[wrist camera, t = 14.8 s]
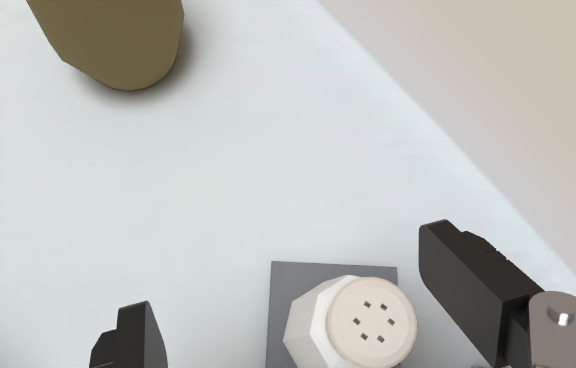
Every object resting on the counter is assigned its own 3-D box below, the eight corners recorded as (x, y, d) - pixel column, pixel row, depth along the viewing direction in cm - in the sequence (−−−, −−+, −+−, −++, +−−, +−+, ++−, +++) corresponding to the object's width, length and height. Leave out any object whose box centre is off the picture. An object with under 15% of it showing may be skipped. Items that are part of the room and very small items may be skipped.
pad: (398, 403, 24) (401, 405, 23) (264, 397, 24) (263, 398, 23) (393, 268, 26) (396, 267, 26) (271, 263, 26) (271, 261, 26)
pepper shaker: (346, 411, 23) (403, 463, 13) (261, 344, 24) (249, 341, 14) (403, 321, 25) (493, 302, 14) (320, 261, 26) (349, 203, 15)
